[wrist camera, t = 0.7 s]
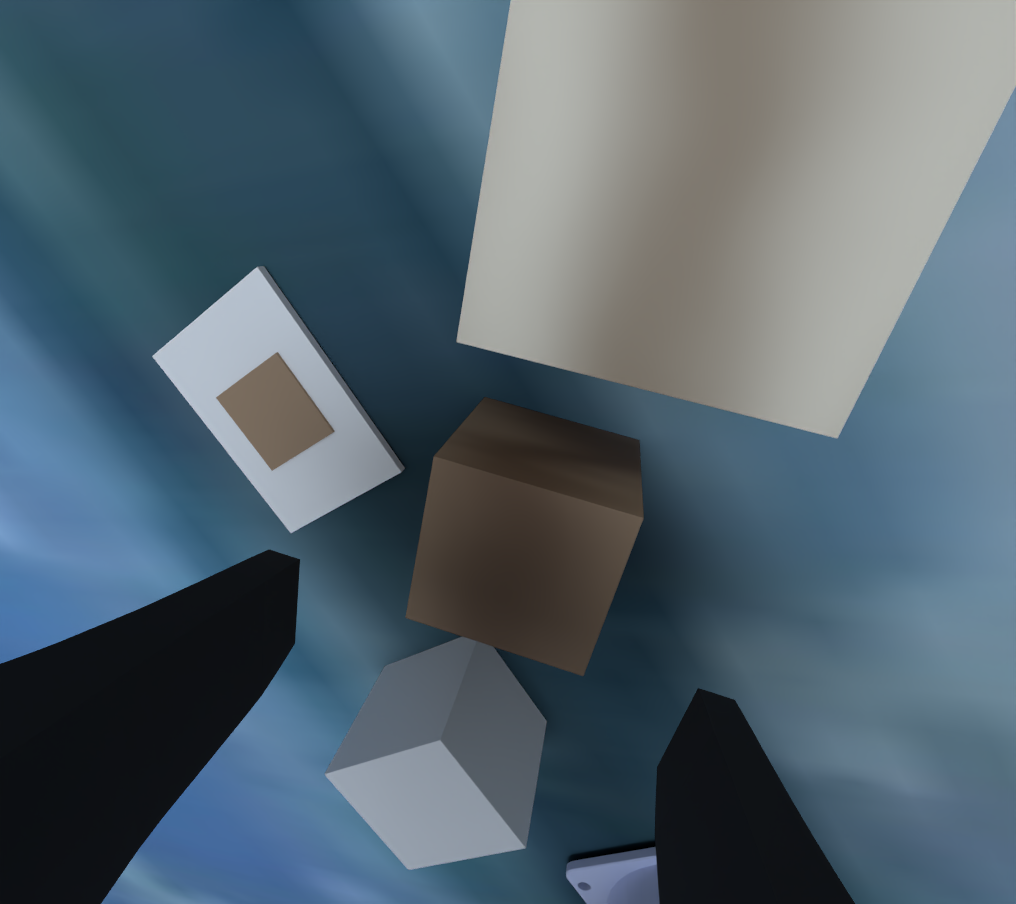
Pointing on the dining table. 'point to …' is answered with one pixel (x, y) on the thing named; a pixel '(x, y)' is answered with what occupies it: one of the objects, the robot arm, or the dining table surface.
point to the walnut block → (527, 533)
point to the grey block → (444, 756)
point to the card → (277, 403)
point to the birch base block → (727, 188)
